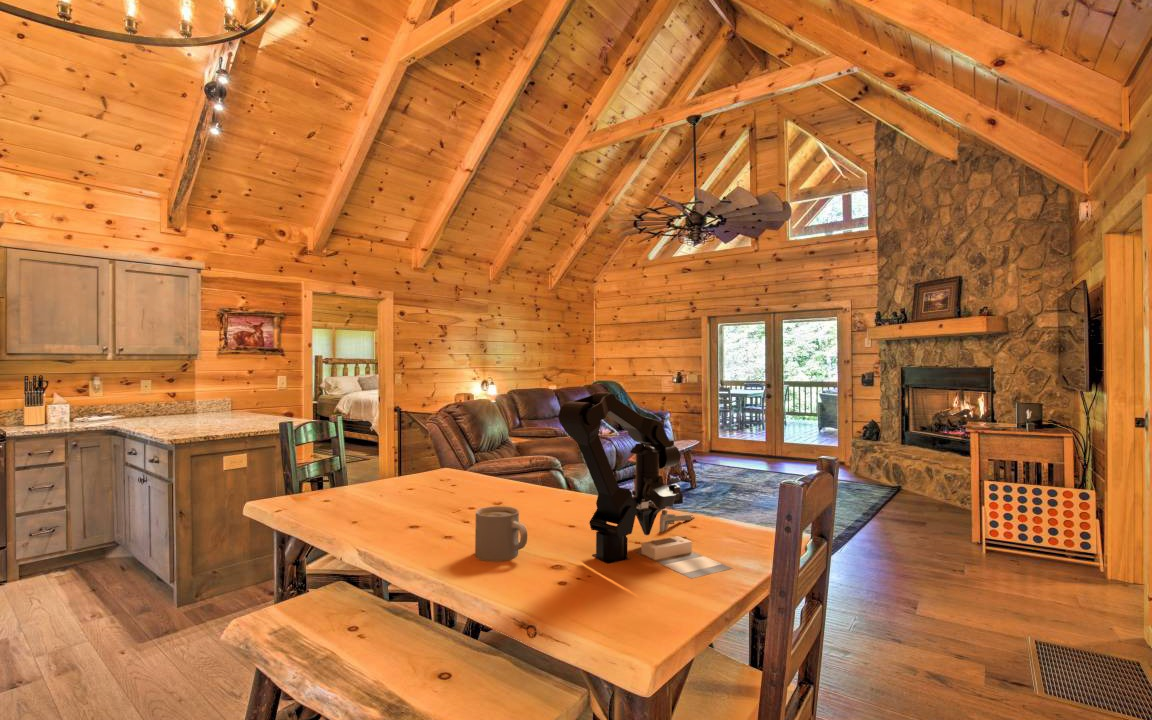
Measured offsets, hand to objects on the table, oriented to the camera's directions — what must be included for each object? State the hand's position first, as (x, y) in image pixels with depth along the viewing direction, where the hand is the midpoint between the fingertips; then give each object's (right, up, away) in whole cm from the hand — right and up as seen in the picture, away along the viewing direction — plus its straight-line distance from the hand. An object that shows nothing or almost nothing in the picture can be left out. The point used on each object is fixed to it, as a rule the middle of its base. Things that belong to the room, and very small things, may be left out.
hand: (646, 534), depth 139 cm
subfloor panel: (+6, -3, -11) cm, 13 cm away
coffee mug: (-35, -3, -8) cm, 36 cm away
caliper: (+11, -4, +19) cm, 22 cm away
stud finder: (+4, -2, -6) cm, 8 cm away
